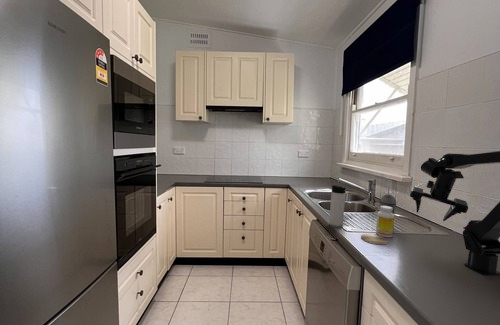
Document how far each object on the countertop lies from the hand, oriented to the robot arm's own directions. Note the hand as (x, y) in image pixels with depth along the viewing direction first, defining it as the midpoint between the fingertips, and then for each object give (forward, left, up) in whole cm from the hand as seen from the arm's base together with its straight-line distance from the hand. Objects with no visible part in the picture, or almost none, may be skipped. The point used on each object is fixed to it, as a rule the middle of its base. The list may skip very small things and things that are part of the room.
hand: (430, 216), depth 102 cm
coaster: (+3, +22, -11) cm, 25 cm away
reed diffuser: (+21, +4, -11) cm, 24 cm away
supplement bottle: (+8, +14, -11) cm, 20 cm away
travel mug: (+20, +31, -11) cm, 39 cm away
